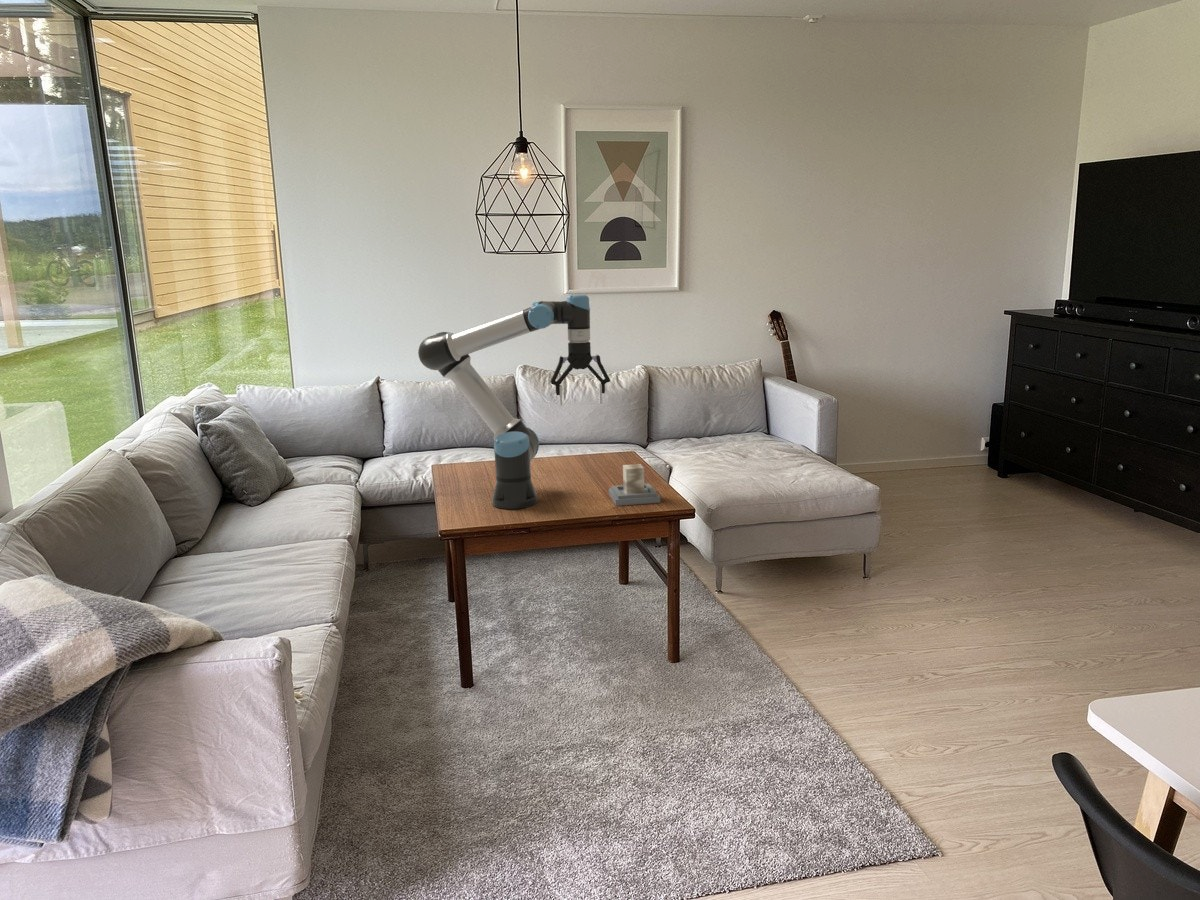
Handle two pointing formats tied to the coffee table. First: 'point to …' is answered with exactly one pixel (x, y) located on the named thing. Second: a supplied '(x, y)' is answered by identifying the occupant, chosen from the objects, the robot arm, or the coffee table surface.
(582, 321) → the robot arm
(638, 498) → the slate plinth
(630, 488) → the birch block
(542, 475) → the coffee table surface
